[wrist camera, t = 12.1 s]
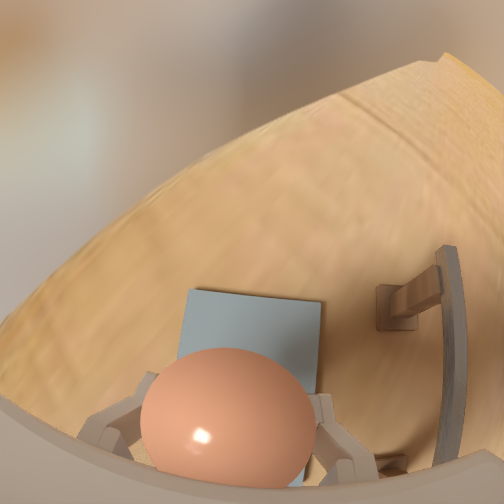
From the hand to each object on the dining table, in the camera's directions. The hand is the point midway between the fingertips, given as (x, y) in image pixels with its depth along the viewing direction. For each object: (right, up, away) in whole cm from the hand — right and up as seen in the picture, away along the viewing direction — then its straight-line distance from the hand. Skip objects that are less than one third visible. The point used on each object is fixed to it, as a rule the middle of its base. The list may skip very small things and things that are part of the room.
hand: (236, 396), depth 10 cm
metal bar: (+13, -3, +2) cm, 13 cm away
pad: (0, -5, +10) cm, 11 cm away
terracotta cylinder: (0, -3, +5) cm, 5 cm away
